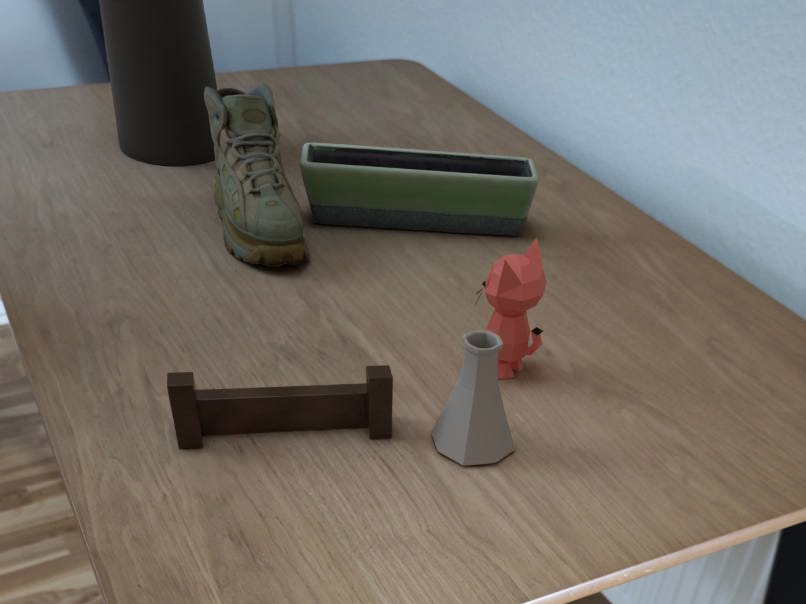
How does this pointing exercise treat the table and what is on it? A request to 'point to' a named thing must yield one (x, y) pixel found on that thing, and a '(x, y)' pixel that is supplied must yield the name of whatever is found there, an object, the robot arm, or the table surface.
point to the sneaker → (253, 179)
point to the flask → (475, 407)
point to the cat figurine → (515, 306)
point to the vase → (160, 79)
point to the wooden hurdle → (280, 407)
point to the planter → (417, 188)
